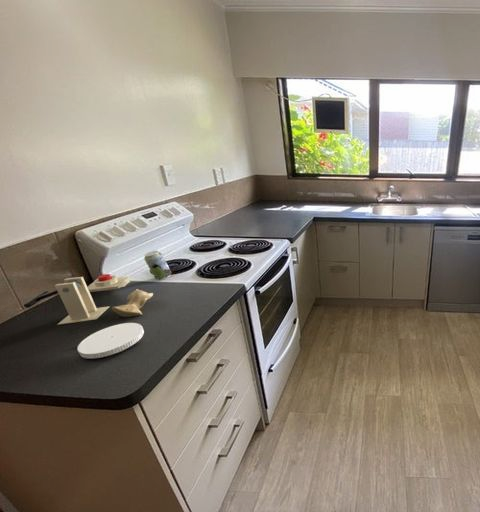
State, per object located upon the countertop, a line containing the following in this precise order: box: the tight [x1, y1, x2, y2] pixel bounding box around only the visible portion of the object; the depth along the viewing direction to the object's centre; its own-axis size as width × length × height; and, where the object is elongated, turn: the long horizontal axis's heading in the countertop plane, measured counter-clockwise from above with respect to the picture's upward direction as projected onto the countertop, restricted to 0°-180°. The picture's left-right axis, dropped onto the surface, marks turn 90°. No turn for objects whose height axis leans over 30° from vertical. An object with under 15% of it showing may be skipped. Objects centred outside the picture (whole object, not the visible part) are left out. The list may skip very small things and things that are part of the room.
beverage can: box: [143, 250, 173, 281], centre depth 121 cm, size 6×7×12 cm
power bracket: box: [54, 276, 110, 326], centre depth 93 cm, size 10×8×14 cm
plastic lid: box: [77, 322, 145, 359], centre depth 83 cm, size 14×14×2 cm
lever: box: [23, 280, 81, 309], centre depth 90 cm, size 12×8×2 cm, turn 108°
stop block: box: [87, 274, 131, 293], centre depth 114 cm, size 11×9×4 cm
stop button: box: [97, 273, 112, 282], centre depth 113 cm, size 4×4×2 cm
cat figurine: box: [111, 288, 154, 318], centre depth 98 cm, size 8×7×12 cm
